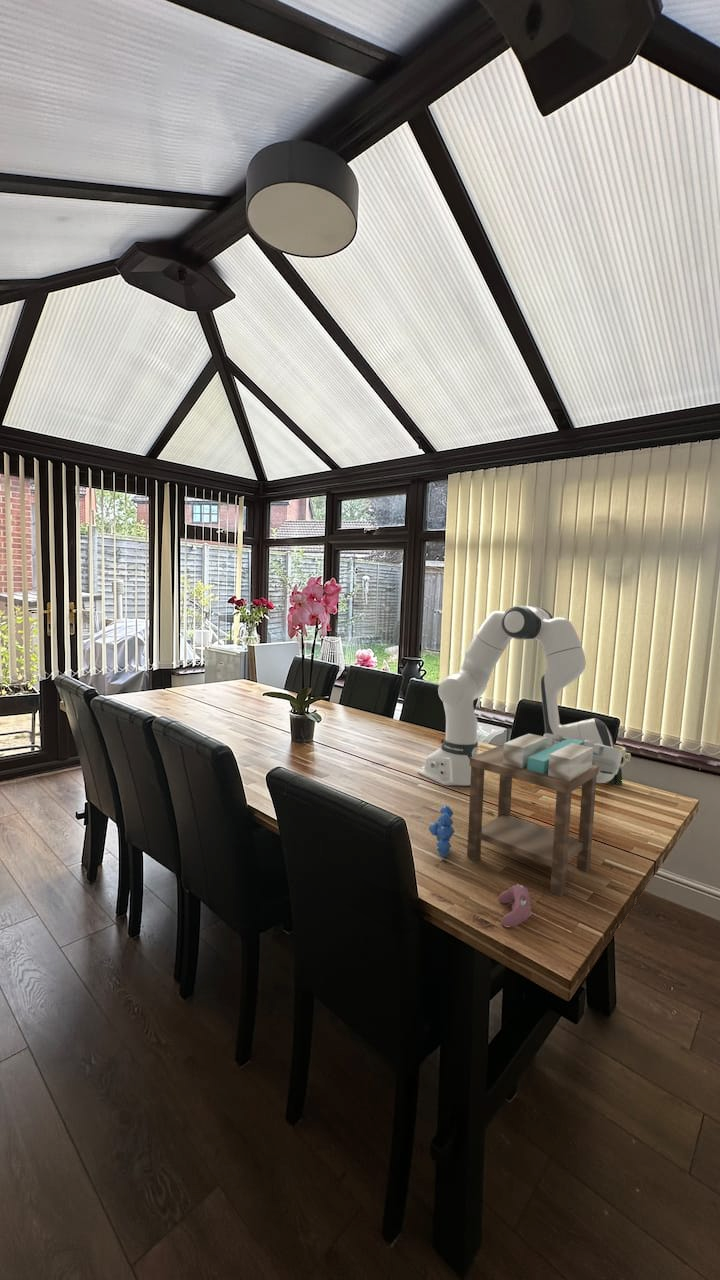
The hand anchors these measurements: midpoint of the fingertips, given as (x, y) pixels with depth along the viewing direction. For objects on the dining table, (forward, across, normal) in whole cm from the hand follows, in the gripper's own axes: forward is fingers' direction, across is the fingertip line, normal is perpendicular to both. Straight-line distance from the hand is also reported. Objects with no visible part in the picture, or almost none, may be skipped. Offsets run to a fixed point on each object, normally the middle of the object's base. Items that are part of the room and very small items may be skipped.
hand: (571, 740), depth 138 cm
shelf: (-2, -4, +33) cm, 33 cm away
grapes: (+8, -22, +39) cm, 45 cm away
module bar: (+6, 0, +7) cm, 9 cm away
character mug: (-68, -8, -5) cm, 68 cm away
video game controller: (+17, +5, +44) cm, 48 cm away
